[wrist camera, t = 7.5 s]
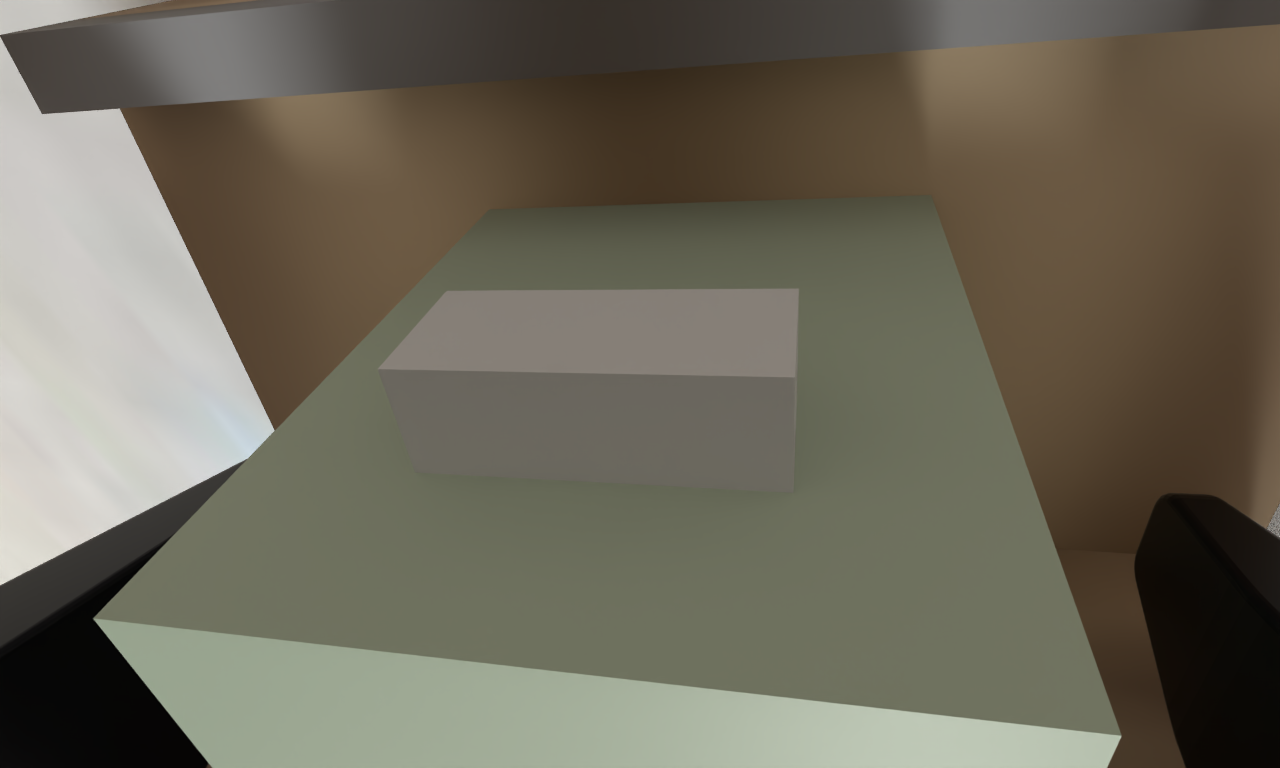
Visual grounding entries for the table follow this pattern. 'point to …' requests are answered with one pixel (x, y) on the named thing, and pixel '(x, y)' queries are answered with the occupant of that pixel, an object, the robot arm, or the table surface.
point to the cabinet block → (638, 519)
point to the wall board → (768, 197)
